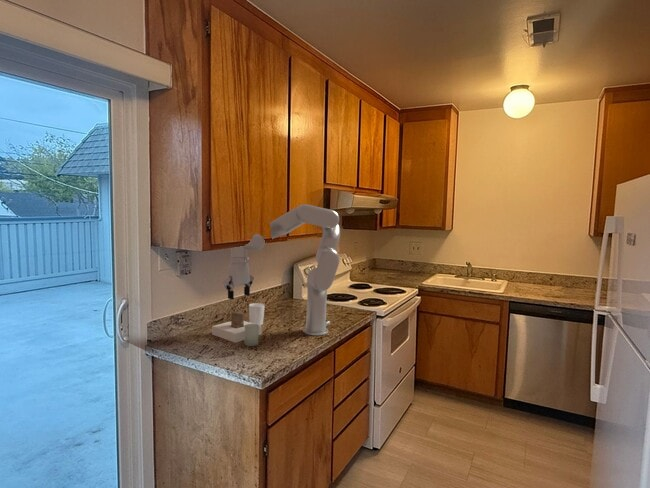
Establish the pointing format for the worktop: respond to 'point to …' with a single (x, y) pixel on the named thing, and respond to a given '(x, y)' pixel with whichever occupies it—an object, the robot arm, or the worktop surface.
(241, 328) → the cream socket block
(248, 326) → the sage round peg
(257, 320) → the white cup
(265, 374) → the worktop surface
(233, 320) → the walnut square peg
